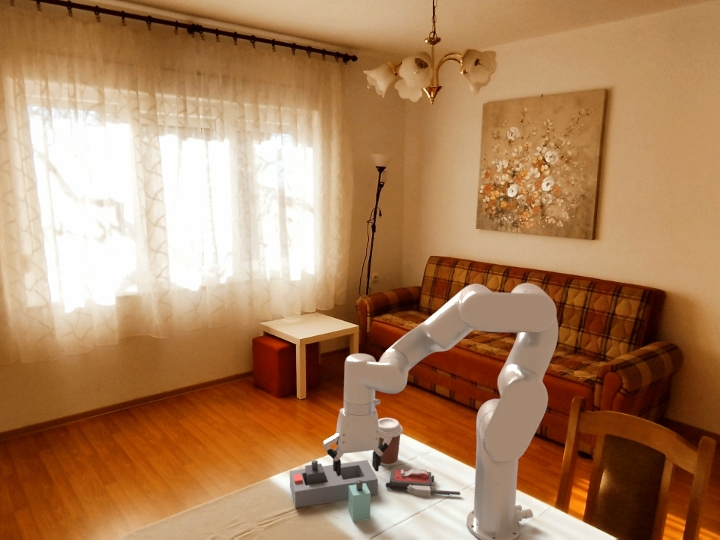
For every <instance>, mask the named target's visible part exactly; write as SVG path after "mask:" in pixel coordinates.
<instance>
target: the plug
mask: <svg viewBox="0 0 720 540" xmlns="http://www.w3.org/2000/svg"><path fill="white" fill-rule="evenodd" d="M348 513H349V516H350V518H351V520H352V522H353V523H355V522H360V521H367V520H371V496H370V491H369V489H368V487H367V485H366V483H363V481H362V480H357V481H356V485H350V486H349V499H348Z"/></svg>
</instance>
